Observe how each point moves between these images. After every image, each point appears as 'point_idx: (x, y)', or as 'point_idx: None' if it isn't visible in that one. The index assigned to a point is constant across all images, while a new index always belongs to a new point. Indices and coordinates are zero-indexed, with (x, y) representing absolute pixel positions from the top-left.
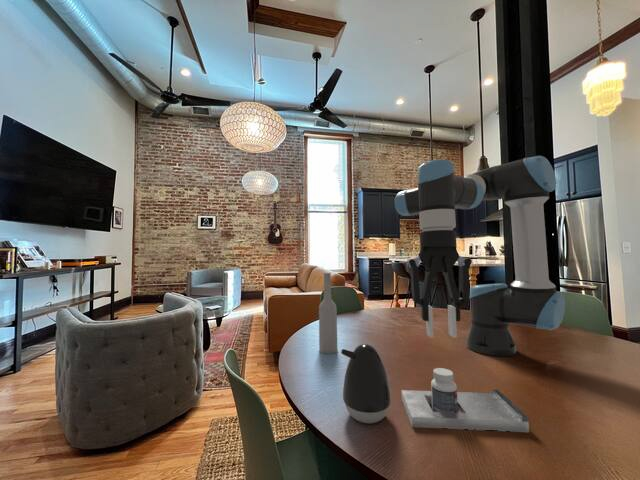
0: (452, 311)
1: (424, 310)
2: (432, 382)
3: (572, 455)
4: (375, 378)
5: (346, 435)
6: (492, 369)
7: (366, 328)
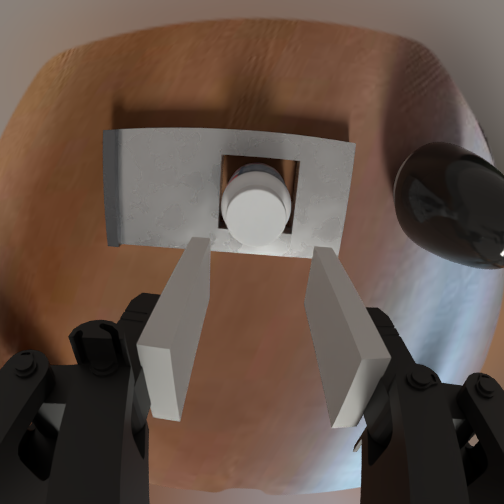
0: (175, 324)
1: (399, 353)
2: (289, 210)
3: (90, 77)
4: (473, 162)
5: (461, 135)
6: None
7: (284, 493)
